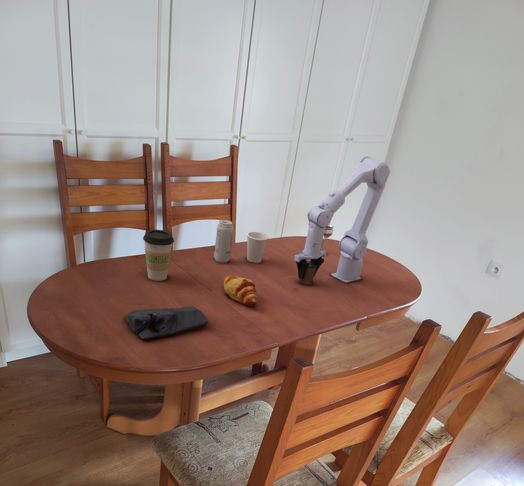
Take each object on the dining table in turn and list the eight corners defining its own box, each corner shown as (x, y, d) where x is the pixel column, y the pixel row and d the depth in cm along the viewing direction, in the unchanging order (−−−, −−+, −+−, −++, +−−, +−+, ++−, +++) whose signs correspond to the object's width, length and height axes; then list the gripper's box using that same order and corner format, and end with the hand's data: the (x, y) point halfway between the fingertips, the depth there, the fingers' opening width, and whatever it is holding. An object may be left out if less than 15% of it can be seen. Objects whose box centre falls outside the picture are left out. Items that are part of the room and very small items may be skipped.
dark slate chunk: (214, 332, 135) (215, 318, 133) (137, 343, 125) (138, 327, 122) (194, 307, 146) (195, 293, 144) (122, 315, 136) (122, 300, 133)
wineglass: (312, 248, 208) (318, 222, 201) (327, 251, 208) (333, 224, 201) (312, 254, 202) (318, 226, 196) (327, 257, 202) (334, 229, 196)
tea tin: (305, 277, 179) (309, 259, 175) (315, 283, 175) (319, 265, 172) (294, 279, 175) (298, 261, 171) (305, 285, 172) (309, 267, 168)
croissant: (218, 291, 166) (209, 273, 160) (241, 277, 167) (234, 259, 162) (246, 319, 151) (238, 301, 145) (272, 303, 152) (265, 284, 147)
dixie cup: (249, 264, 182) (253, 239, 176) (240, 256, 188) (243, 231, 182) (268, 263, 186) (272, 238, 180) (258, 255, 192) (262, 231, 186)
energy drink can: (229, 264, 179) (233, 225, 171) (213, 262, 178) (217, 223, 170) (230, 258, 184) (234, 220, 176) (214, 256, 184) (218, 218, 176)
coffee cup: (136, 277, 158) (136, 233, 150) (153, 268, 166) (154, 226, 158) (161, 285, 155) (163, 242, 147) (177, 276, 163) (179, 234, 155)
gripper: (319, 235, 174) (312, 269, 181) (291, 239, 165) (284, 275, 172) (333, 242, 170) (325, 277, 177) (305, 247, 161) (298, 283, 168)
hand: (306, 277), depth 174 cm, fingers closed on tea tin, 5 cm apart
